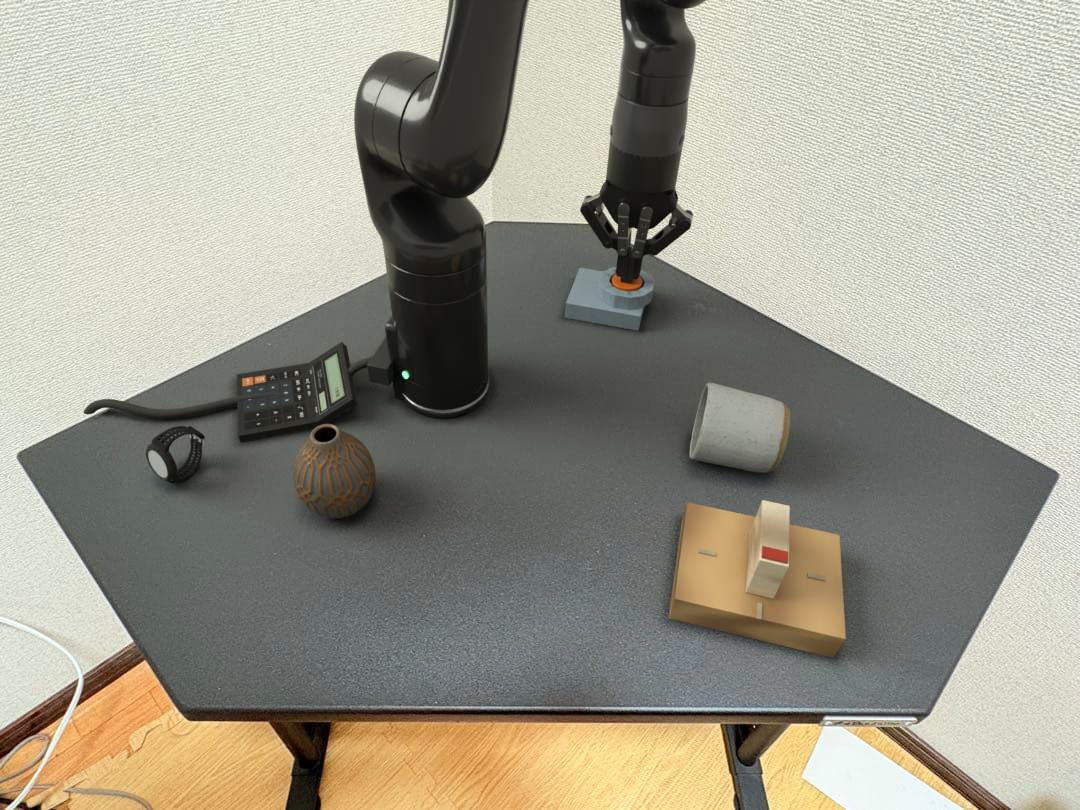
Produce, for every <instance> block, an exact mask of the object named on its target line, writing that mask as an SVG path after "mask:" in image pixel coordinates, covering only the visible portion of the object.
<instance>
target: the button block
mask: <svg viewBox="0 0 1080 810" xmlns="http://www.w3.org/2000/svg"><path fill="white" fill-rule="evenodd" d="M615 274H616V266H613V267H609V268H608V269H606V270H604V271H602V270H596V269H591V268H585V267H579V268H578V271H577V273H576V276H575V279H574V281H573V284H572V286H571V289H570V292H569V294H568V297H567V299H566V302H565V308H564V309H565V310H564V318H565V319H570V320H575V321H576V320H577V321H581V322H588V323H592V324H598V325H603V326H609V327H614V328H618V329H619V328H620V329H625V330H631V331H637V332H638V331H640V326H641V322H642V318H643V314H644V311H645V307H646V306H647V305H649V304H651V302H652V299H653V296H654V290H655V285H656V282H655V280H654V278H653V277H652V276H651V274H650V273H649V272H646V271H644V270H642V269H641V272H640V276H639V277H640V278H641V279H642V287H641V289H639V290H638V291H631V292H628V291H623V290H618V289H617V288H615V287H613V286H612V285H611V284H612V278H613V276H614V275H615Z"/></svg>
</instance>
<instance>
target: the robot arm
mask: <svg viewBox="0 0 1080 810" xmlns="http://www.w3.org/2000/svg"><path fill="white" fill-rule="evenodd" d="M530 1H531V0H448V6H447V14H446V22H445V28H444V33H443V39H442V44H441V50H440V53H439V58H438V60H436V59H433V58H431V57H428V56H425V55H422V54H419V53H416V52H412V51H407V50H396V51H391V52H388V53H385V54H383V55H381V56H380V57H378V58H376V60H374V61H373V62H372V63H371V65H370V66H369V67H368V68H367V69H366V71H365V72H364V74H363V76H362V78H361V80H360V83H359V84H358V88H357V90H356V96H355V100H354V110H353V128H354V129H353V131H354V138H355V145H356V151H357V157H358V163H359V168H360V173H361V178H362V183H363V189H364V194H365V199H366V203H367V204H366V205H367V209H368V213H369V217H370V220H371V222H372V225H373V226H374V228H375V230H376V232H377V233H378V235H379V237H380V239H381V242H382V249H383V254H384V255H383V256H384V263H385V270H386V271H385V272H386V278H387V285H388V286H387V287H388V294H389V301H390V309H391V315H390V316H389V318H388V320H387V321H386V323H385V326H384V331H385V337H384V338H383V340H382V342H381V343H380V345H379V346H378V347H377V349H376V350H375V352H374V354H373V355H371V356H368V357H366V358H363V359H360V360H358V361H356V362H355V363H353V364H350V367H349V368H348V372H349V374H350V375H351V376H353V377H354V376H355V374H357V373H358V372H360V371H362V370H364V369H367V373H368V375H367V376H368V380H369V383H371V384H375V385H376V384H377V385H381V386H386V387H391V385H392V389H393V396H394V398H395V399H398V400H402V401H403V402H404V404H406V405H407V406H408V407H409V408H410V409H411V410H413V411H415V412H416V413H418V414H421V415H424V416H427V417H431V418H441V419H444V418H454V417H459V416H463V415H466V414H468V413H470V412H472V411H474V410H476V409H477V408H478V407H479V406H480V405H481V404H483V403H484V402H485V400H486V399H487V397H488V395H489V391H490V375H489V373H490V371H489V335H488V334H489V331H488V330H489V329H488V327H489V325H488V323H489V322H488V275H487V274H488V273H487V272H488V269H487V267H488V266H487V229H486V222H485V219H484V217H483V215H482V214H481V212H480V210H479V209H478V208H477V207H476V205H475V204H474V203H473V202H472V201H471V200H470V198H469V196H471V195H473V194H475V193H476V192H478V191H479V190H480V189H481V188H482V187H483V186H484V184H485V183H486V182H487V180H488V179H489V178H490V176H491V175H492V173H493V171H494V169H495V168H496V166H497V164H498V161H499V158H500V156H501V152H502V151H503V147H504V144H505V141H506V136H507V133H508V127H509V123H510V119H511V118H510V117H511V112H512V107H513V106H512V105H513V100H514V94H515V88H516V81H517V75H518V70H519V65H520V64H519V62H520V57H521V50H522V43H523V38H524V32H525V27H526V20H527V15H528V10H529V5H530ZM706 1H707V0H619V9H620V22H621V23H620V24H621V31H622V41H623V43H622V51H621V58H620V65H619V74H618V75H619V76H618V84H617V93H616V98H615V103H614V107H613V110H612V111H613V112H612V118H611V124H610V126H609V147H608V156H607V165H606V174H605V181H604V182H603V184H602V185H601V188H600V190H599V192H598V193H595V194H594V195H591V194H589V195H586V196H585V197H584V198H583V200H582V203H581V206H580V208H579V211H580V213H581V215H582V216H583V218H584V219H585V221H586V222H587V224H588V225H589V227H590V228H591V230H592V232H593V233H594V235H595V236H596V237H597V239H598V240H599V242H600V243H601V244H602V246H603V248H605V249H606V250H607V249H608V250H609V249H610V250H611V249H613V250H614V251H616V253H617V259H616V266H615V267H616V275H617V276H618V277H621V278H620V282H626V283H632V282H633V279H636V280H637V279H638V278H639V276H640V272H641V270H642V266H643V260H644V257H645V256H647V255H648V256H649V255H650V256H652V257H655V256H658V255H659V254H660V253H661V252H663V251H664V250H665V249H666V248H667V247H669V246H670V245H671V244H672V243H675V242H676V240H678V239H680V237H682V236H683V235H684V234H685V233H687V232H688V231H689V230H690V229H691V228H692V224H693V223H692V222H693V218H694V213H693V211H691V210H689V209H684V208H683V207H682V206H681V205H680V204H679V203H678V201H679V195H678V192H677V189H676V186H677V181H678V174H679V170H680V164H681V157H682V153H683V146H684V143H685V138H686V130H687V124H688V116H689V115H688V114H689V113H688V111H689V99H690V97H689V96H690V92H691V86H692V80H693V74H694V70H695V69H694V68H695V65H696V64H695V63H696V57H697V56H696V55H697V44H696V39H695V37H694V35H693V33H692V31H691V29H690V28H689V26H688V23H687V21H686V13H685V12H686V11H685V10H688V9H693V8H696V7H698V6H700V5H702V4H705V2H706ZM605 209H606V210H607V212H608V214H609V215H610V217H611V219H612V220H613V222H614V223H615V224H616V225H617V230H616V229H615V227H614V226H613V224H612V223H611V222H610V220H609V219H608V217H607V215H606V214H605V212H604V210H605ZM669 215H670V216H669ZM668 216H669V220H668V224H666V225H665V226H664V227H663V228H662V229H660V230H658V232H657V233H655V234H654V235H653V236H652V237H651V238H648V234H649V230H652V229H655V228H656V227H657V226H658V225H659V224H660V223H662V222H663V221H664V220H665V219H666V218H667V217H668ZM632 229H635V230H636V233H635V238H634V241H633V247H632V246H631V245H632V234H633V233H632V232H633V231H632ZM280 394H281V393H277V392H263V393H254V394H248V395H242V396H237V395H236V396H233V397H228V398H224V399H220V400H216V401H211V402H207V403H203V404H198V405H192V406H186V407H178V408H168V409H166V408H165V409H161V408H152V407H151V408H150V407H146V406H141V405H137V404H135V403H130V402H126V401H123V400H119V399H113V398H102V399H97V400H94V401H92V402H90V403H89V404H88V405H87V406H86V407H85V409H84V410H83V414H84V415H92V414H94V413H96V412H97V411H98V410H99V411H100V410H101V409H113V410H117V411H118V410H119V411H121V412H125V413H130V414H132V415H136V416H140V417H144V418H145V417H146V418H151V419H178V418H187V417H192V416H198V415H202V414H207V413H211V412H215V411H220V410H224V409H228V408H232V407H236V406H237V402H239V401H244V400H250V399H256V398H264V397H270V396H276V395H280ZM237 407H238V406H237Z"/></svg>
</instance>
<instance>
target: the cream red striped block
mask: <svg viewBox="0 0 1080 810" xmlns="http://www.w3.org/2000/svg"><path fill="white" fill-rule="evenodd" d="M790 513H791V506H790V505H787V504H782V503H779V502H775V501H771V500H765V499H762V500H761V503H760V505H759V507H758V510H757V512H756V514H755V516H754V517H755V520H754V523H753V525H752V528H751V530H750V533H749V545H748V561H747V576H746V592H747V593H751V594H755V595H759V596H763V597H767V598H772V599H774V597H775V595H776V592H777V590H778V588H779V586H780V584H781V582H782V580H783V578H784V576H785V574H786V572H787V570H788V568H789V534H790V524H791V522H790V521H791V514H790Z"/></svg>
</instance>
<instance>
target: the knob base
mask: <svg viewBox="0 0 1080 810" xmlns="http://www.w3.org/2000/svg"><path fill="white" fill-rule="evenodd" d="M683 512H684V513H683V516H682V519H681V524H680V529H679V530H680V531H679V539H678V545H677V553H676V561H675V568H674V575H673V582H672V588H671V589H672V590H671V598H670V605H669V612H668V619H669V620H674V621H678V622H683V623H687V624H690V625H694V626H699V627H703V628H707V629H711V630H714V631H720V632H723V633H727V634H732V635H736V636H739V637H745V638H749V639H752V640H756V641H761V642H765V643H769V644H774V645H777V646H782V647H786V648H789V649H794V650H799V651H803V652H807V653H811V654H815V655H820V656H824V657H827V658H832V659H834V658H835V657H836V655H837V653H838V652H839V650H841V647H843V644H844V643H845V642H846V639H847V636H846V619H845V617H846V616H845V602H844V601H845V600H844V586H843V585H844V584H843V583H844V582H843V569H842V568H843V567H842V552H841V537H840V534H837V533H833V532H828V531H823V530H820V529H814V528H809V527H805V526H801V525H796V524H791V523H790V534H789V568H788V570H787V572H786V574H785V576H784V578H783V580H782V582H781V584H780V586H779V588H778V590H777V592H776V595H775V597H774V599H772V598H767V597H763V596H759V595H755V594H751V593H747V592H746V576H747V561H748V545H749V533H750V530H751V528H752V525H753V523H754V520H755V517H756V516H753V515H749V514H745V513H739V512H735V511H731V510H726V509H721V508H717V507H712V506H707V505H702V504H698V503H693V502H689V501H687V503H686V505H685V509H684V511H683Z"/></svg>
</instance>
